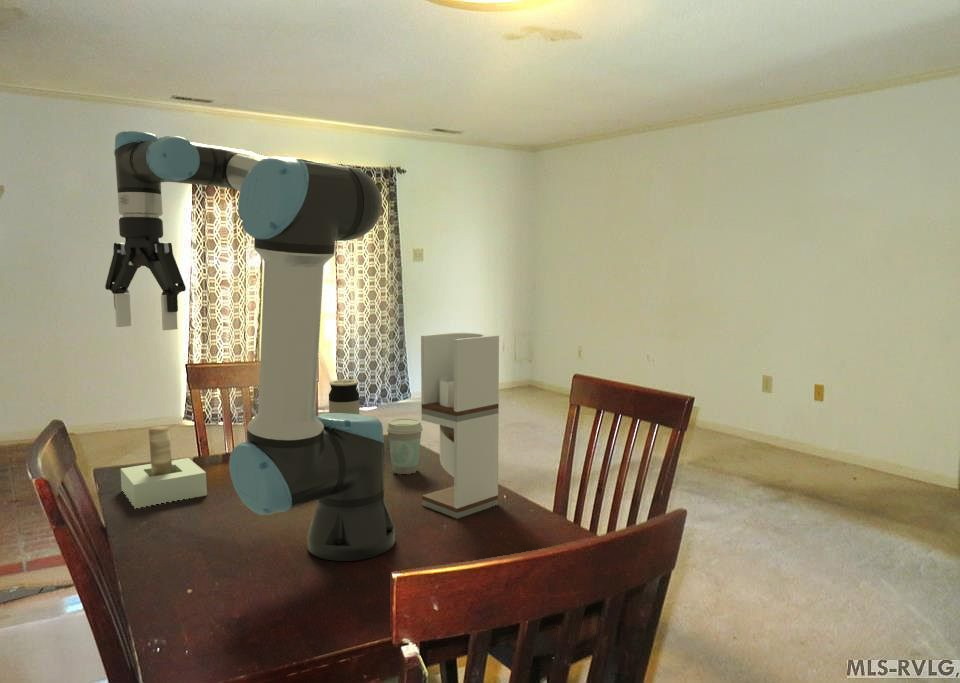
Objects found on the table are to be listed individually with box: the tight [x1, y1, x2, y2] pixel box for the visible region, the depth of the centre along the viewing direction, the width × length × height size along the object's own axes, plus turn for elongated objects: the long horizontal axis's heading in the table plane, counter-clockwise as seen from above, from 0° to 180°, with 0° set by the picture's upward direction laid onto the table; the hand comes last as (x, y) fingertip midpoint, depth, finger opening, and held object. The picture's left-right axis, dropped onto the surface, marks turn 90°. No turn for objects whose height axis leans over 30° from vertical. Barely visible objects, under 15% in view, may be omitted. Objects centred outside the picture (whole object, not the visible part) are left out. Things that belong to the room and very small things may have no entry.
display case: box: [420, 331, 500, 519], centre depth 141 cm, size 11×11×35 cm
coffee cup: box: [386, 418, 423, 475], centre depth 166 cm, size 8×8×12 cm
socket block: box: [120, 457, 208, 510], centre depth 150 cm, size 14×14×5 cm
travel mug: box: [328, 379, 360, 415], centre depth 186 cm, size 8×8×18 cm
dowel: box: [148, 425, 172, 477], centre depth 149 cm, size 4×4×14 cm
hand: (146, 328), depth 135 cm, fingers open, 13 cm apart
